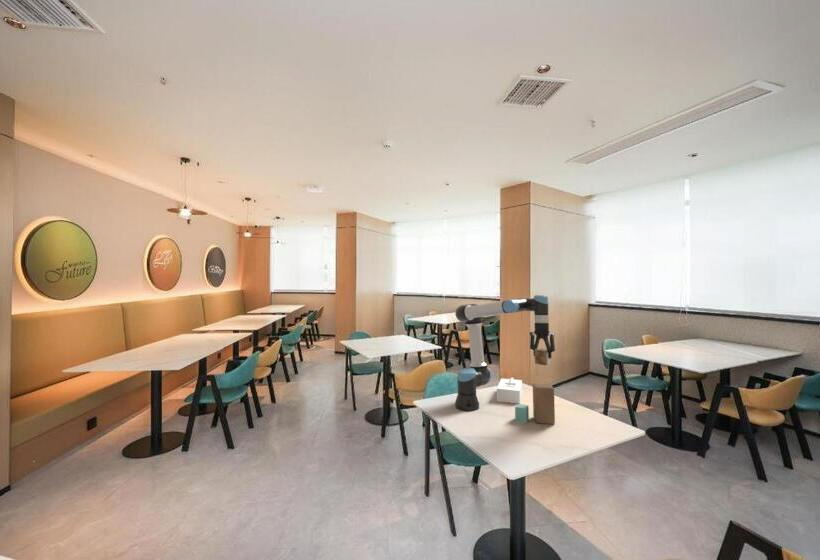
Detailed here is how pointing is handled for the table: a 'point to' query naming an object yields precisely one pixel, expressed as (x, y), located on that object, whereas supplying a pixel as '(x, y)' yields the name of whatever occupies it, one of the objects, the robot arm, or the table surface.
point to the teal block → (521, 413)
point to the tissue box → (509, 390)
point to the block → (543, 403)
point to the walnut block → (541, 356)
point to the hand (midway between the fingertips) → (542, 362)
